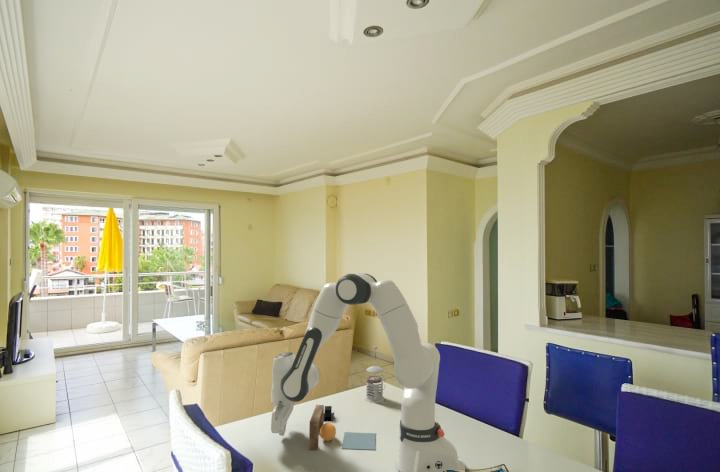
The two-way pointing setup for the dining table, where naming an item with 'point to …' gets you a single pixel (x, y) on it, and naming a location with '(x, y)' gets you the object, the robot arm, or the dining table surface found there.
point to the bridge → (316, 426)
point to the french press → (374, 385)
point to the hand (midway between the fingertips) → (282, 433)
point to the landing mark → (359, 441)
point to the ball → (327, 431)
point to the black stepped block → (328, 414)
